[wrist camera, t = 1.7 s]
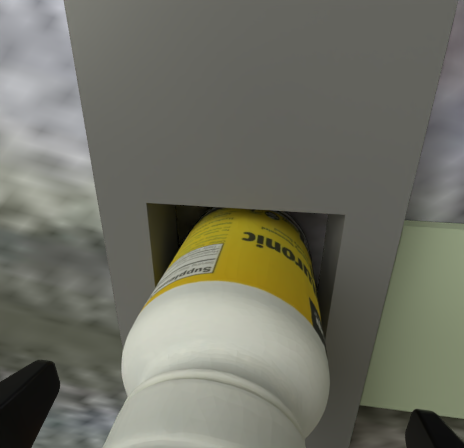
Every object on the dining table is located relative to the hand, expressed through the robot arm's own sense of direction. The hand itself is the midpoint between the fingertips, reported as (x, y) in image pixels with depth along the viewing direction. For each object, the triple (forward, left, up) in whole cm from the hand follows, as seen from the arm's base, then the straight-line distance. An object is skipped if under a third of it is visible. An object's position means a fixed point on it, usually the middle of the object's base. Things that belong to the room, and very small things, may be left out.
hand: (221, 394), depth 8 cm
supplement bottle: (0, 0, -7) cm, 7 cm away
